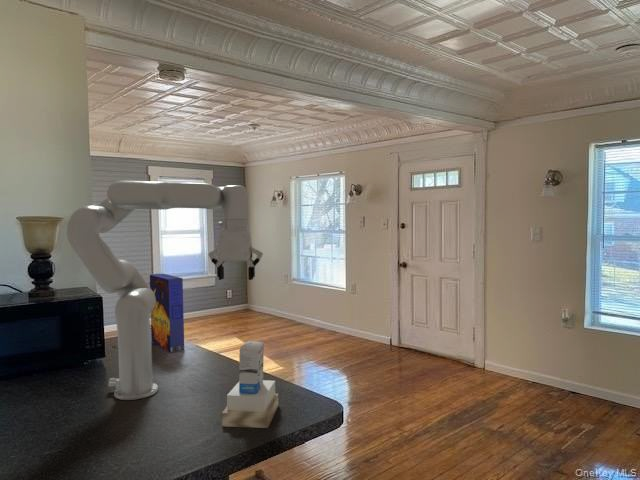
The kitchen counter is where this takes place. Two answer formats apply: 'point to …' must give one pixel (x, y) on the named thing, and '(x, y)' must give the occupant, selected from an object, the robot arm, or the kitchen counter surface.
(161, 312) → the cereal box
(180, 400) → the kitchen counter surface
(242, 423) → the lower block
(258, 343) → the ink box
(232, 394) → the upper block
